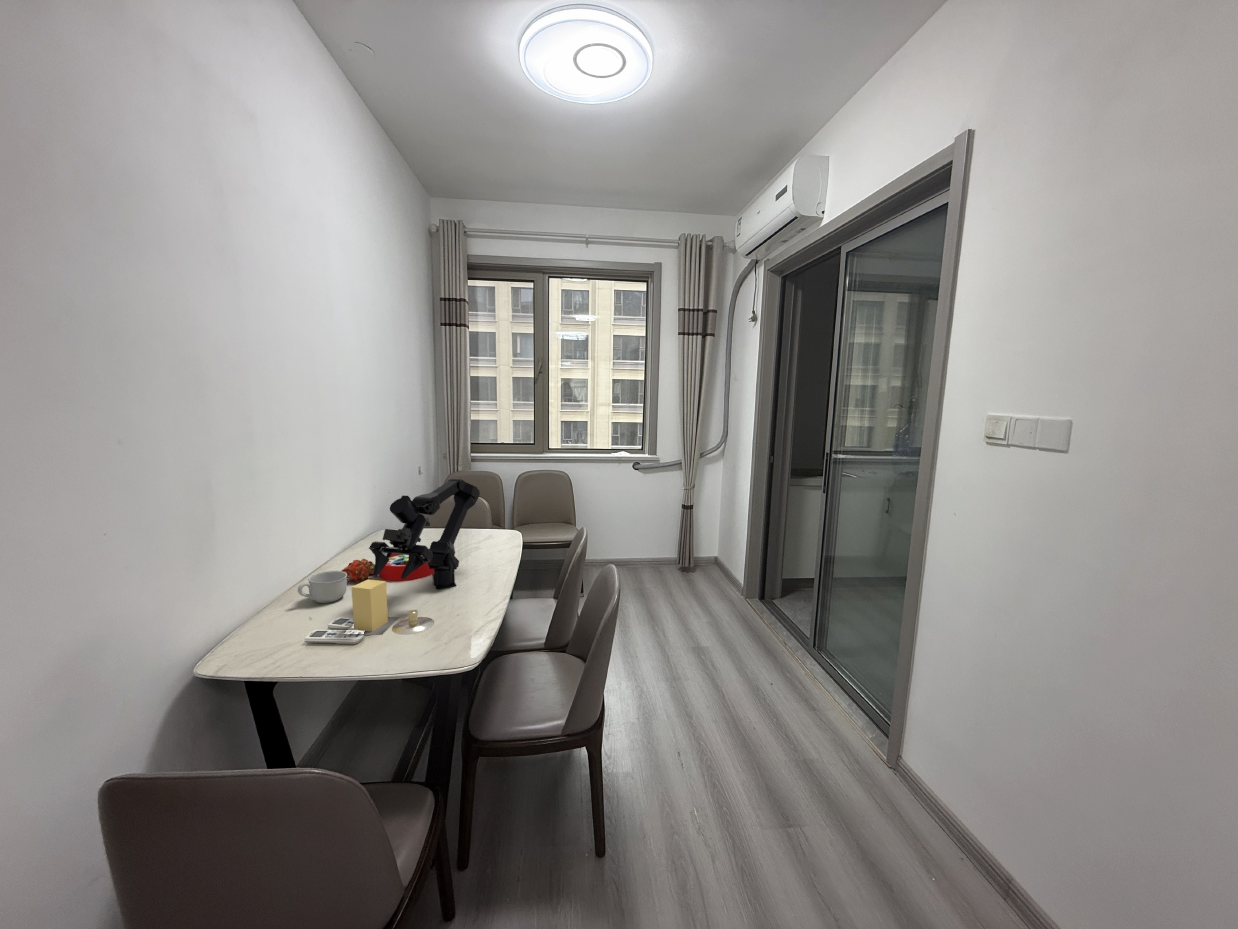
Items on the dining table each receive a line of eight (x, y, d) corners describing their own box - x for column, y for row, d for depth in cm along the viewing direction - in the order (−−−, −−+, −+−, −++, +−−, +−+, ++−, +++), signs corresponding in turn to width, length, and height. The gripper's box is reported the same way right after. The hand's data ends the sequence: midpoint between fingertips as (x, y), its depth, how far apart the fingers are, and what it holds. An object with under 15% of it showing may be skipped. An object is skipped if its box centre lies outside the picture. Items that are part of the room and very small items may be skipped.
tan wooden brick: (370, 619, 138) (367, 579, 136) (388, 622, 136) (385, 581, 135) (354, 629, 132) (351, 587, 131) (372, 631, 131) (370, 589, 129)
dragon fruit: (380, 583, 173) (343, 592, 169) (380, 564, 179) (344, 572, 175) (374, 570, 167) (335, 579, 163) (374, 551, 173) (336, 559, 169)
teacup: (342, 590, 162) (341, 567, 161) (352, 599, 155) (351, 575, 154) (294, 602, 153) (292, 577, 152) (302, 612, 145) (300, 587, 144)
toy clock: (444, 558, 179) (388, 570, 166) (445, 573, 180) (388, 586, 167) (424, 546, 194) (371, 556, 181) (425, 560, 195) (372, 571, 182)
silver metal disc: (430, 614, 142) (429, 600, 142) (438, 629, 133) (437, 614, 132) (389, 623, 136) (388, 609, 136) (394, 639, 127) (394, 623, 126)
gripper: (371, 515, 146) (345, 561, 136) (425, 519, 141) (402, 567, 132) (391, 534, 154) (367, 579, 145) (442, 538, 150) (421, 585, 140)
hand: (388, 577), depth 140 cm, fingers open, 9 cm apart
